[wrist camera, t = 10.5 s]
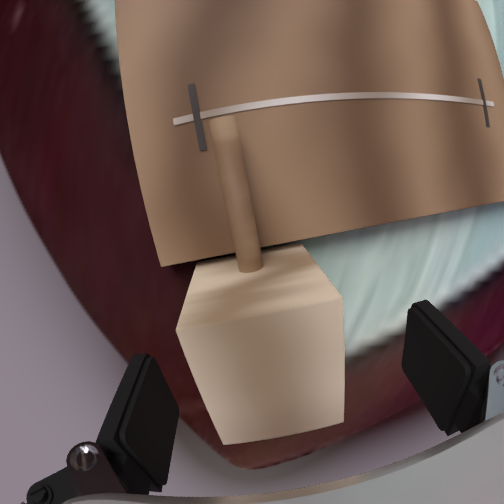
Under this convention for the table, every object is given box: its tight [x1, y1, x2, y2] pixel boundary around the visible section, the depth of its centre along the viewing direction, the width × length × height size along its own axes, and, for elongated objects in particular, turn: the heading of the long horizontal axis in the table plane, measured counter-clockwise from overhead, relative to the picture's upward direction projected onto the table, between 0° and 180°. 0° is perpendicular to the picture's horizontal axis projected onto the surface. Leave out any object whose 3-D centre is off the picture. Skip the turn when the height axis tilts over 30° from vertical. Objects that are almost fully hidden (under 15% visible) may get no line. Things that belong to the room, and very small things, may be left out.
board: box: [115, 0, 504, 267], centre depth 12 cm, size 22×14×1 cm, turn 101°
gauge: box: [176, 116, 345, 445], centre depth 11 cm, size 5×12×6 cm, turn 11°
